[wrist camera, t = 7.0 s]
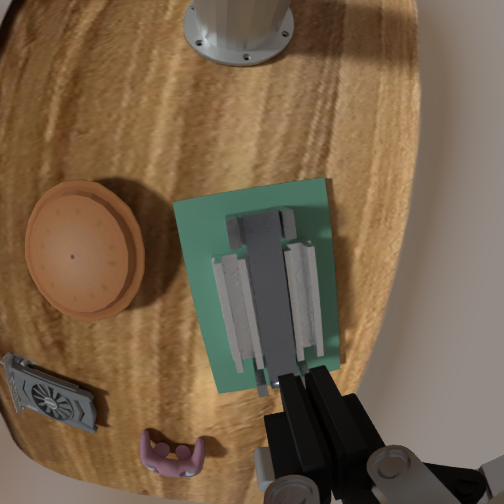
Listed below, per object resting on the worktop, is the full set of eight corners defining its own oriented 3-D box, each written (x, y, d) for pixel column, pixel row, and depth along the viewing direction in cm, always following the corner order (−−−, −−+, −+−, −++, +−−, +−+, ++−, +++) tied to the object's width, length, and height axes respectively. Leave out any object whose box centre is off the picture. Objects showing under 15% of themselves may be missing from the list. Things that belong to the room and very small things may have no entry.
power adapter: (256, 447, 40) (265, 507, 28) (289, 447, 40) (304, 504, 29) (253, 458, 40) (261, 515, 29) (285, 458, 41) (299, 513, 29)
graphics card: (13, 414, 32) (-3, 360, 30) (22, 401, 36) (9, 349, 33) (98, 448, 35) (90, 398, 32) (103, 432, 38) (98, 382, 36)
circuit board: (174, 201, 31) (172, 202, 30) (321, 177, 32) (324, 177, 31) (218, 388, 37) (218, 393, 35) (337, 364, 37) (340, 368, 36)
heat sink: (205, 218, 31) (200, 225, 25) (300, 202, 31) (317, 206, 25) (237, 370, 35) (239, 400, 29) (317, 354, 35) (331, 381, 30)
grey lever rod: (240, 213, 26) (241, 216, 25) (274, 208, 27) (277, 210, 25) (270, 384, 31) (272, 395, 29) (296, 379, 31) (300, 389, 29)
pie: (143, 323, 34) (133, 343, 29) (38, 291, 32) (18, 304, 27) (165, 193, 31) (155, 195, 26) (49, 171, 29) (26, 170, 24)
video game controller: (144, 434, 40) (139, 472, 34) (140, 426, 37) (134, 468, 31) (205, 442, 41) (203, 481, 35) (206, 436, 38) (204, 478, 32)
